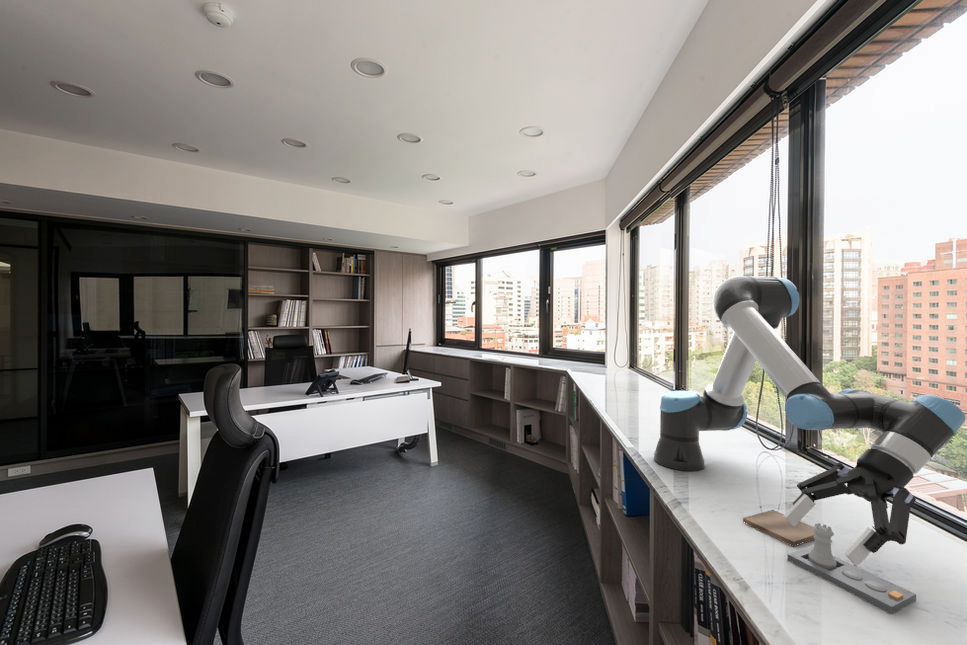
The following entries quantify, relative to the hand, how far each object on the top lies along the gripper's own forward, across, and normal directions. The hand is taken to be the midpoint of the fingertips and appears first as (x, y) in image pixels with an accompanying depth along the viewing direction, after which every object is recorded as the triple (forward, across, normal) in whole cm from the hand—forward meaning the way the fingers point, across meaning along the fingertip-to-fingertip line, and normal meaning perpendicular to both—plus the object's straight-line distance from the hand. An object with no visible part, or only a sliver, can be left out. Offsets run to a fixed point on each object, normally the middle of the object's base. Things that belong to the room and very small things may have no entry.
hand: (816, 539), depth 80 cm
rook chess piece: (+3, 0, -5) cm, 6 cm away
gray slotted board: (+2, -4, -6) cm, 7 cm away
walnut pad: (0, +14, -8) cm, 16 cm away
